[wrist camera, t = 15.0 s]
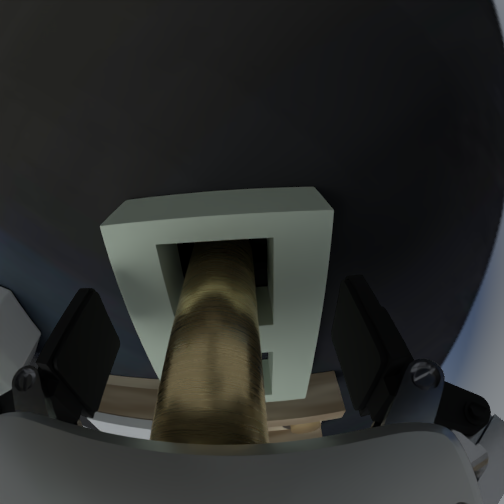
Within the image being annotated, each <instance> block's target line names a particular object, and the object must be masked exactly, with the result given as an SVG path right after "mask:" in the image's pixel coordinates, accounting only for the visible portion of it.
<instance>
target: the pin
mask: <svg viewBox="0 0 504 504" xmlns="http://www.w3.org/2000/svg"><path fill="white" fill-rule="evenodd" d="M150 440H154V441H163V442H173V443H186V444H205V445H245V444H266V443H269V435H268V423H267V412H266V401H265V389H264V378H263V367H262V355H261V344H260V333H259V321H258V310H257V299H256V287H255V276H254V265H253V253H252V247H251V244H250V241H249V240H248V239H236V240H220V241H203V242H195V244H194V247H193V250H192V254H191V257H190V261H189V264H188V268H187V271H186V275H185V279H184V283H183V286H182V290H181V294H180V298H179V302H178V306H177V309H176V313H175V318H174V322H173V326H172V330H171V334H170V338H169V343H168V347H167V352H166V356H165V361H164V365H163V370H162V375H161V380H160V384H159V389H158V395H157V400H156V405H155V411H154V416H153V422H152V428H151V434H150Z"/></svg>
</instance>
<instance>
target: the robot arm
mask: <svg viewBox="0 0 504 504" xmlns="http://www.w3.org/2000/svg"><path fill="white" fill-rule="evenodd" d="M331 335H332V341H333V344H334V347H335V350H336V353H337V356H338V359H339V362H340V365H341V368H342V371H343V375H344V378H345V381H346V384H347V387H348V391H349V394H350V397H351V401H352V404H353V407H354V409H355V410H359V413H360V416H361V417H362V416H366V415H370V416H371V419H372V420H373V421H374V422H373V424H372V426H371V428H368V429H363V430H358V431H353V432H348V433H343V434H338V435H332V436H326V437H319V438H312V439H305V440H297V441H289V442H278V443H266V444H245V445H205V444H186V443H173V442H163V441H154V440H147V439H140V438H133V437H127V436H122V435H116V434H111V433H106V432H102V431H97V430H93V429H89V428H85V427H83V426H82V423H81V421H80V419H79V418H80V415H82V416H85V417H89V418H93V417H94V414H95V412H97V411H98V409H99V406H100V403H101V399H102V396H103V393H104V390H105V387H106V384H107V381H108V378H109V375H110V372H111V369H112V366H113V364H114V361H115V358H116V355H117V352H118V350H119V347H120V340H119V337H118V335H117V333H116V331H115V329H114V327H113V325H112V323H111V321H110V319H109V316H108V314H107V312H106V310H105V307H104V305H103V303H102V300H101V298H100V296H99V294H98V293H97V292H96V291H95V290H94V289H92V288H81V289H79V290H78V292H77V293H76V295H75V296H74V298H73V299H72V301H71V302H70V304H69V306H68V307H67V309H66V310H65V312H64V314H63V315H62V317H61V318H60V320H59V322H58V323H57V325H56V327H55V328H54V330H53V332H52V333H51V335H50V337H49V339H48V340H47V342H46V344H45V346H44V348H43V349H42V351H41V353H40V355H39V357H38V359H37V361H36V363H37V365H38V366H39V367H38V369H36V368H35V367H34V366H31V365H27V366H24V367H22V368H20V369H19V370H18V371H17V372H16V373H15V375H14V377H13V379H12V389H11V390H9V391H8V392H6V393H4V394H2V395H1V396H0V504H498V502H499V501H500V499H501V498H502V496H503V494H504V421H503V420H501V419H500V418H499V417H498V416H497V415H494V416H493V417H492V416H491V414H490V413H491V411H490V406H489V405H488V403H487V401H486V400H485V399H484V398H483V397H481V396H479V395H477V394H474V393H472V392H469V391H467V390H464V389H462V388H459V387H457V386H455V385H452V384H450V383H448V382H445V381H444V377H445V376H444V373H443V370H442V369H441V367H440V366H439V365H438V364H437V363H436V362H434V361H432V360H429V359H425V358H422V359H416V360H414V359H413V357H412V355H411V353H410V352H409V350H408V348H407V346H406V344H405V342H404V340H403V339H402V337H401V335H400V333H399V331H398V330H397V328H396V326H395V324H394V322H393V321H392V319H391V317H390V315H389V314H388V312H387V310H386V309H385V308H384V307H381V305H380V304H379V302H378V300H377V298H376V297H375V295H374V293H373V292H372V290H371V288H370V287H369V285H368V283H367V282H366V280H365V279H364V277H363V276H362V275H353V276H347V277H346V279H345V280H342V281H341V285H340V291H339V297H338V302H337V307H336V312H335V317H334V322H333V327H332V333H331Z"/></svg>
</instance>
